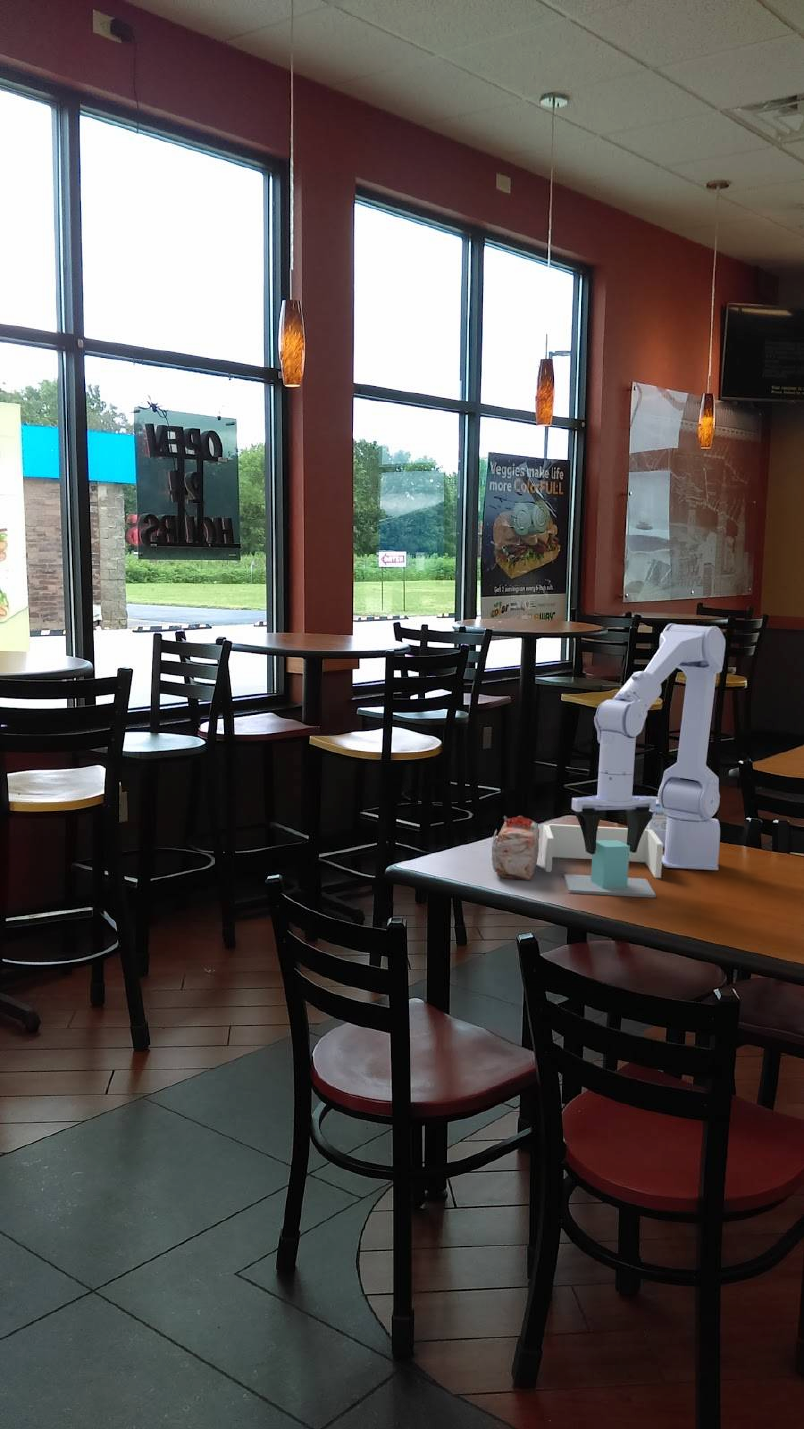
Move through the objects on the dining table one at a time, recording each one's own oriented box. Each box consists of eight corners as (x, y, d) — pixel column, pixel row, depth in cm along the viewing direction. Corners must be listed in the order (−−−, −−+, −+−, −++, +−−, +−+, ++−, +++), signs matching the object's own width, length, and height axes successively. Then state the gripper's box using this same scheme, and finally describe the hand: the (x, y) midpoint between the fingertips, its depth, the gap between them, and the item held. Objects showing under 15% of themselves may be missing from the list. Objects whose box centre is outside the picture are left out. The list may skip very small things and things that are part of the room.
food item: (536, 883, 191) (539, 826, 190) (488, 879, 192) (491, 822, 191) (539, 864, 204) (542, 810, 203) (495, 860, 205) (497, 807, 204)
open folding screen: (650, 861, 209) (652, 829, 209) (660, 877, 197) (663, 844, 197) (541, 855, 210) (543, 823, 210) (545, 871, 198) (547, 838, 198)
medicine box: (635, 837, 229) (638, 795, 228) (656, 838, 229) (659, 796, 228) (648, 847, 221) (651, 803, 220) (670, 847, 221) (673, 804, 220)
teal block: (614, 880, 193) (617, 839, 192) (627, 887, 188) (629, 846, 188) (590, 881, 191) (593, 840, 191) (602, 888, 187) (605, 846, 186)
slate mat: (646, 881, 195) (646, 878, 194) (655, 897, 185) (655, 894, 185) (564, 876, 195) (564, 874, 195) (569, 892, 185) (569, 889, 185)
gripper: (643, 767, 194) (638, 844, 195) (565, 768, 189) (561, 847, 191) (664, 774, 187) (658, 855, 188) (584, 776, 183) (579, 858, 184)
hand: (611, 852), depth 189 cm, fingers open, 7 cm apart
